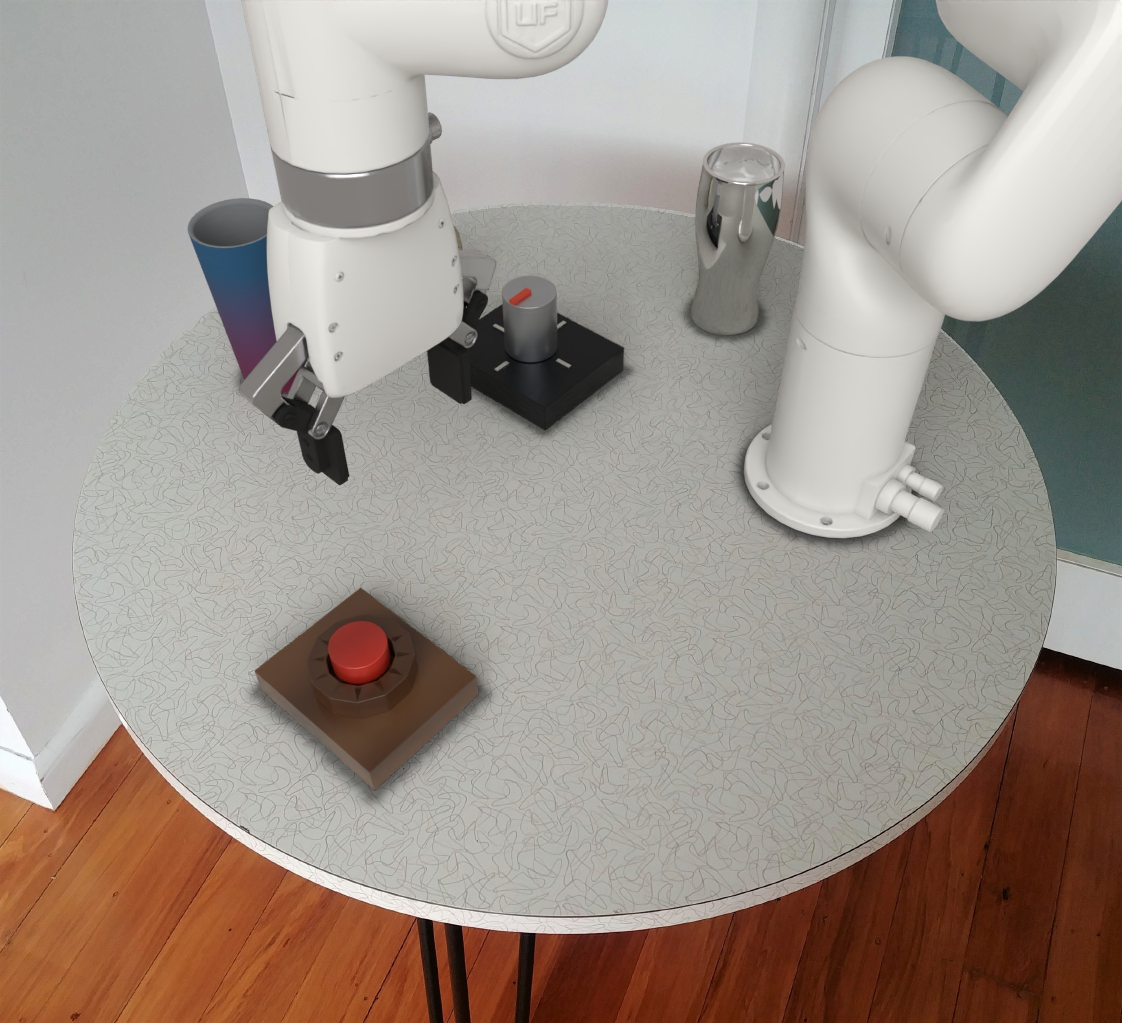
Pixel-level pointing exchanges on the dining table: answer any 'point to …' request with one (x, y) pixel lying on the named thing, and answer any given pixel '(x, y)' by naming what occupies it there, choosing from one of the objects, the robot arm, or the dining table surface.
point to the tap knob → (530, 318)
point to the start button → (359, 652)
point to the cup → (238, 275)
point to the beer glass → (734, 233)
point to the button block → (369, 691)
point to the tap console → (542, 369)
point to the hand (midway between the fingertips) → (392, 430)
